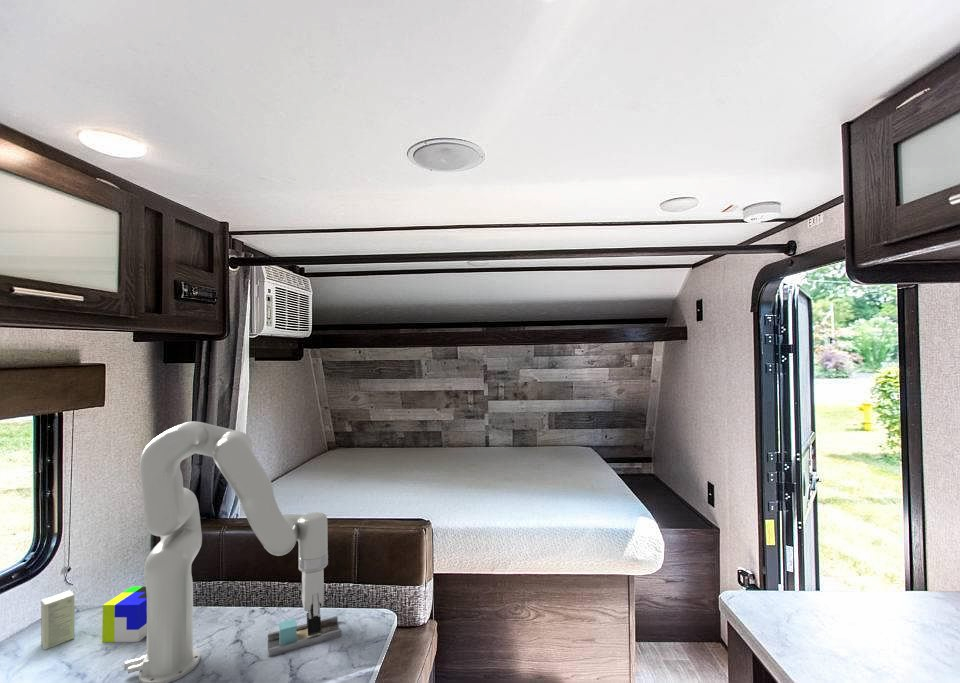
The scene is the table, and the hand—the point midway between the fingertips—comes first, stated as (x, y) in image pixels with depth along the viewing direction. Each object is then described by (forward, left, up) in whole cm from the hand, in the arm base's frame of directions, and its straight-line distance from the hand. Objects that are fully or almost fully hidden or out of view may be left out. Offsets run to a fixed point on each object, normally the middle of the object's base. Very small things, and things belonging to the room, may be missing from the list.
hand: (313, 628), depth 123 cm
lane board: (-2, 0, -3) cm, 4 cm away
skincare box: (-63, +32, -3) cm, 71 cm away
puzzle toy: (-45, +28, -3) cm, 53 cm away
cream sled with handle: (-4, 0, -2) cm, 4 cm away
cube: (-7, 0, -1) cm, 7 cm away
